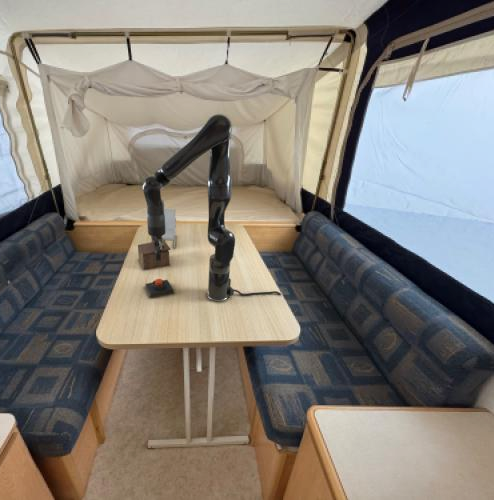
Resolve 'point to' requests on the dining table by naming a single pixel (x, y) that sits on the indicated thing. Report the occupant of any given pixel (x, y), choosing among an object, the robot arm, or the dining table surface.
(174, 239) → the chair
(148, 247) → the lid
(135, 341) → the dining table surface
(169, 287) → the control block
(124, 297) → the dining table surface
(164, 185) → the robot arm
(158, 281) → the button
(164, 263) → the chest
